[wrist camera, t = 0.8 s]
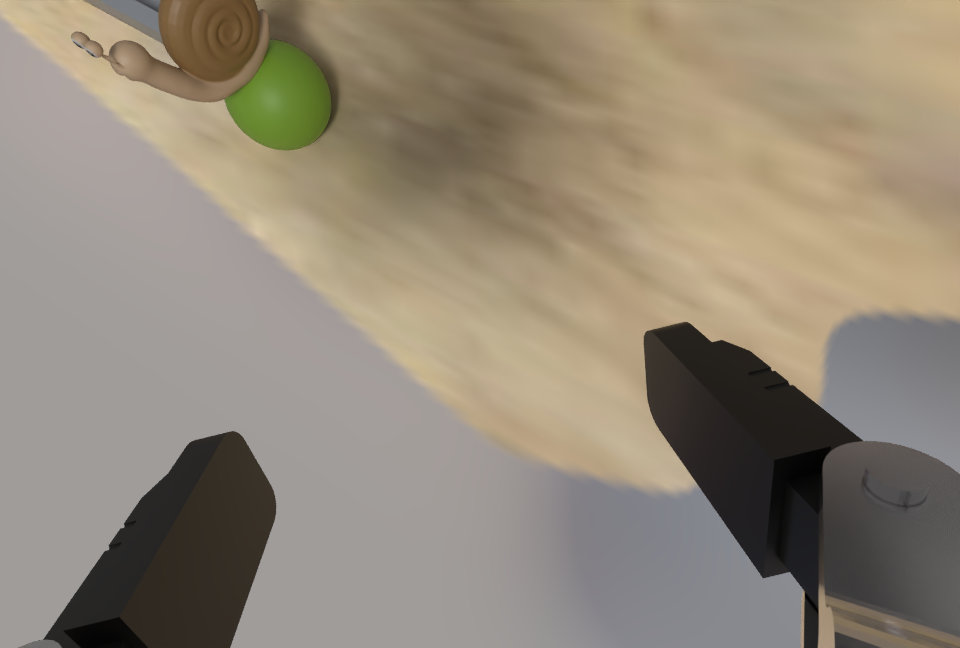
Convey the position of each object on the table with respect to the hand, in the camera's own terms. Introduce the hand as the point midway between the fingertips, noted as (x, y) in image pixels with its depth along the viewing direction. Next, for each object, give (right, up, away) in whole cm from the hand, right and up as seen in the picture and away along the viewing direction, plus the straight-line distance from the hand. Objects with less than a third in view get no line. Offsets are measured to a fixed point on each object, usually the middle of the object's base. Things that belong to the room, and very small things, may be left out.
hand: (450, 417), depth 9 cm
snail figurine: (-10, +14, +19) cm, 26 cm away
